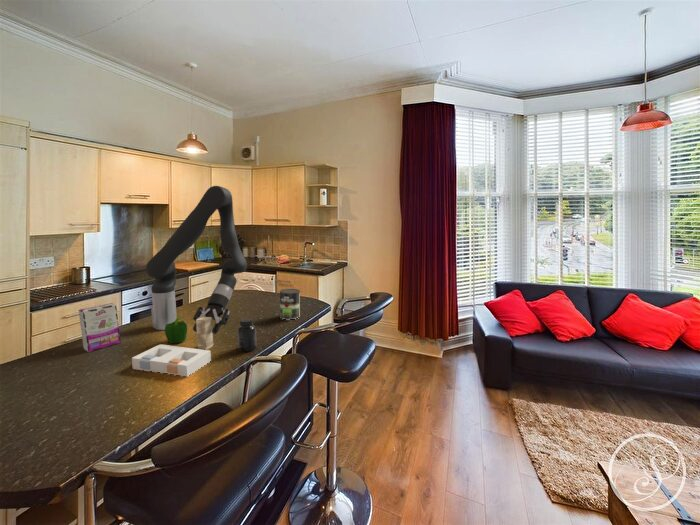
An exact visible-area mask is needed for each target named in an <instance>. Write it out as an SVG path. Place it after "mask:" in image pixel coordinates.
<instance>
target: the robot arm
mask: <svg viewBox="0 0 700 525" xmlns="http://www.w3.org/2000/svg"><path fill="white" fill-rule="evenodd" d="M233 204H234V203H233V195H232V192H231V191H230V189H227V188H226V187H223V186H221V185H212V186H210V187H209V188H208V189H206V191H205V192H204V194H203V195H202V197H201V198H200V200H199V202H198V203H197V205H196V206H195V207H194V209H193V210H192V211H190V213H189V215H188V216H186V218H185V219H184V220H183V221H182V222H181V223H180V224H179V226H178V227H177V229H176V230H175V231H174V232H173V234H172V235H171V236H170V237H169V238H168V240H167V241H166V243H164V245H163V247H161V249H159V250H158V252H157V253H156V254H155V255H153V256H152V257H151V258H150V259H149V260H148V261H147V264H146V266H145V271H146V273H147V276H149V277H150V278H152V279H155V280H154V281H153V284H152V285H151V290H150V291H151V300H152V307H151V320H152V328H153V329H155V330H157V331H165V326H166V324H169V323H172V322H175V320H176V318H177V317H178V316H177V305H176V304H177V302H176V292H175V291H176V290H175V286H176V283H177V273H176V263H175V261H176V259H177V258H178V257H180V256H181V255H182V254H183V253H184V252H186V251H187V250H188V249H190V248H192V246H193V245H194V244H195V243H196V242H197V241H198V239H199V238H200V237H201V236H202V234H203V233H204V231H205V229H206V226H207V223H208V221H209V219H210V218H211V217H212V215H213V214H214V213H215V212H216V211H217V212H218V215H219V221H220V228H219V235H220V236H219V237H220V241H221V242H220V243H221V247H222V250H223V252H224V254H227V255H230V257H231V258H229V259H226V260H225V261H224V262H223V263H222V264H223V265H222V267H221V271H220V272H221V273H220V278H219V280H218V282H217V285H215V287H214V289H213V290H212V293H211V295H210V297H209V299H208V302H207V305H206V307H205V308H204V307H202V306H199V307H198V309H197V310H196V312H195V314H194V316H193V318H192V320H193V321H195V323H194V325H193V328H192V329H193V330H192V331H194V332H195V333H197V326H196V320H197V319H199V318H201V317H212V321H214V320H215V322H216V323H214V325H213V327H212V333H213V335H216V334H217V333H218V332H219V330H220V328H221V326H223V325H224V326H226V325H227V323H228V321H229V318H230V315H231V311H230V310H229V309H228V308H227V306H228V304H229V302H230V299H231V297H232V295H233V291H234V290H235V287H236V284H237V280H238V279H237V278H236V277H235V276H234V275H236V274H242V273H244V272H246V271H247V267H248V264H247V259H246V257H245V255H244V254H243V251H242V250H241V248H240V244H239V240H238V234H237V230H236V225H235V219H234V206H233ZM221 316H222V318H221Z"/></svg>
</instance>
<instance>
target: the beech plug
mask: <svg viewBox="0 0 700 525" xmlns="http://www.w3.org/2000/svg"><path fill="white" fill-rule="evenodd" d="M195 323H196V326H197V332H196V338H197V349H201V350H204V349H205V350H209V349H210V348H212V347H214V338H213V337H214V334H213V333H212V330H213V319H212V317H206V316H204V317H201V318H199V319H197V320H196V321H195Z"/></svg>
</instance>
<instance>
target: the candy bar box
mask: <svg viewBox="0 0 700 525" xmlns="http://www.w3.org/2000/svg"><path fill="white" fill-rule="evenodd" d="M78 317H79V325H80V331H81V339H82V346H83V350H84V351H86V352H88V353H92V352H94V351H98V350H101V349H105V348H109V347H111V346H114V345H119V344H120V343H121V335H120V326H119V318H118V317H119V316H118V309H117V305H116V304H115V303H110V302H109V303H105V304H100V305H95V306H91V307H87V308H86V307H85V308H81V309H78Z"/></svg>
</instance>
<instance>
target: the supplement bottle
mask: <svg viewBox="0 0 700 525" xmlns="http://www.w3.org/2000/svg"><path fill="white" fill-rule="evenodd" d="M237 340H238V341H237V342H238V344H237V345H238V350H239V351H240V352H242V353H249V352H253V351H255V350H256V349H257V345H258V344H257V329H256V326H255V325H254V321H253V319H252V318H249V317H248V318H242V319H240V320H239V327H238V329H237Z"/></svg>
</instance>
